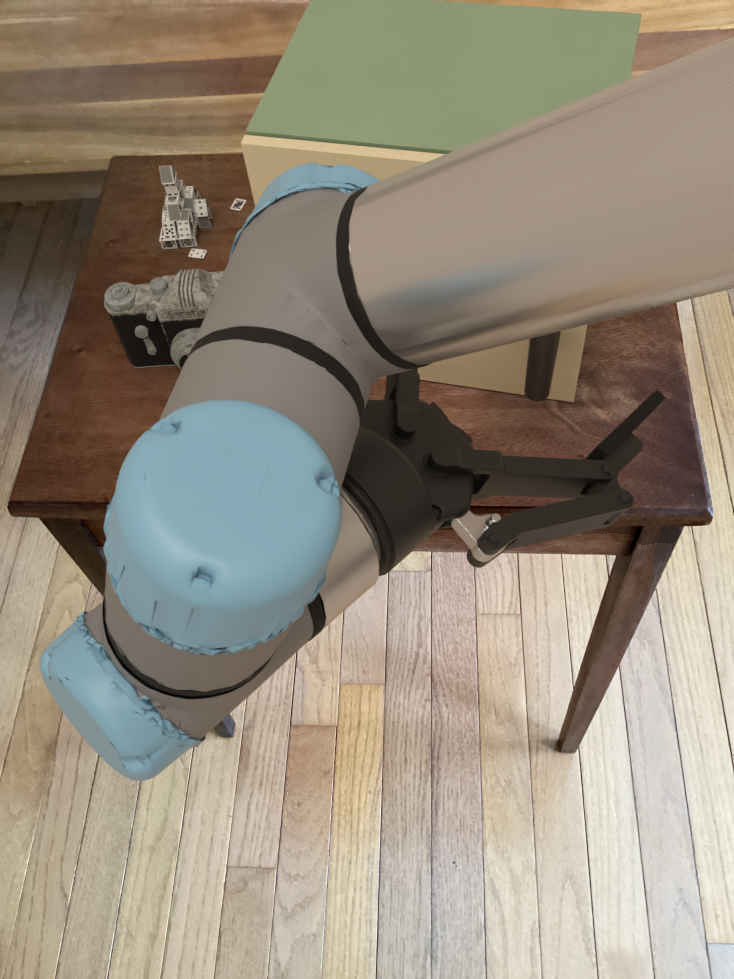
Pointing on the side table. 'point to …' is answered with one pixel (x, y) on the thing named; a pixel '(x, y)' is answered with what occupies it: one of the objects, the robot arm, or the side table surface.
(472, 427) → the side table surface
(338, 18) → the cupboard
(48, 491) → the side table surface
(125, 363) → the side table surface
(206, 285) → the camera
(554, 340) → the cupboard door
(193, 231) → the house of cards
